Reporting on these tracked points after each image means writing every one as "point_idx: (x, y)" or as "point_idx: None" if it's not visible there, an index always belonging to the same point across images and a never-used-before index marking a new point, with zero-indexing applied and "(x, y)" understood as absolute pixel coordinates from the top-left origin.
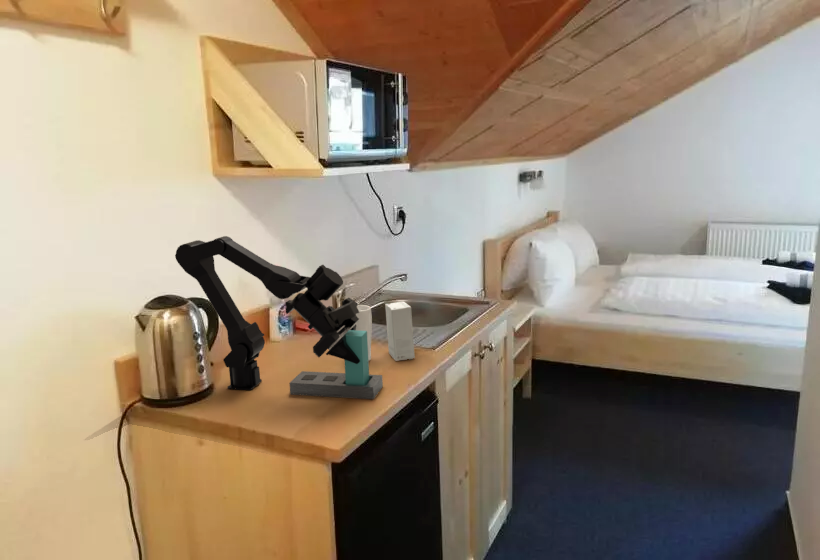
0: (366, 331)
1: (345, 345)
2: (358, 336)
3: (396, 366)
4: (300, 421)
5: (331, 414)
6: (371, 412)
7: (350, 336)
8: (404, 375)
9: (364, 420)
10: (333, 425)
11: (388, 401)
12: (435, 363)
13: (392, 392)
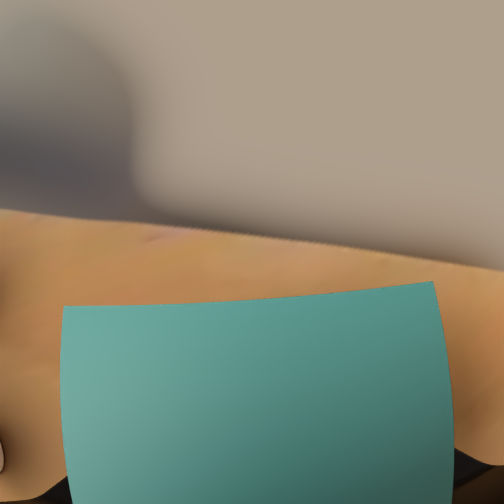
0: (93, 306)
1: (471, 464)
2: (443, 339)
3: (10, 323)
4: (500, 443)
5: (457, 396)
6: (411, 282)
7: (444, 486)
8: (74, 276)
9: (457, 280)
10: (501, 346)
11: (317, 259)
12: (7, 216)
13: (233, 271)
